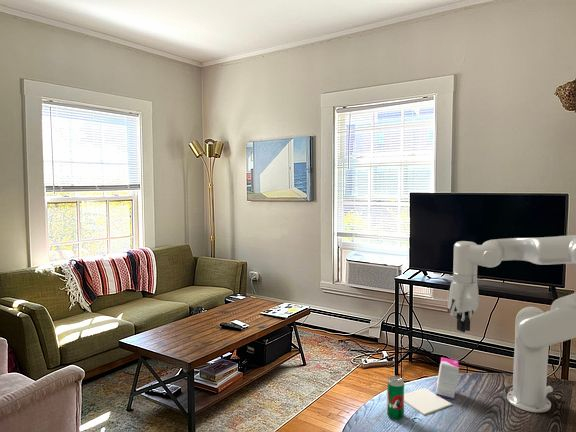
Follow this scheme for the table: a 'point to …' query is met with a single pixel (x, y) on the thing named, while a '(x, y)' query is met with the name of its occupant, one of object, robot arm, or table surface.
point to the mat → (425, 401)
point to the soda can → (395, 398)
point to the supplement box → (447, 378)
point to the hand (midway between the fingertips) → (463, 330)
